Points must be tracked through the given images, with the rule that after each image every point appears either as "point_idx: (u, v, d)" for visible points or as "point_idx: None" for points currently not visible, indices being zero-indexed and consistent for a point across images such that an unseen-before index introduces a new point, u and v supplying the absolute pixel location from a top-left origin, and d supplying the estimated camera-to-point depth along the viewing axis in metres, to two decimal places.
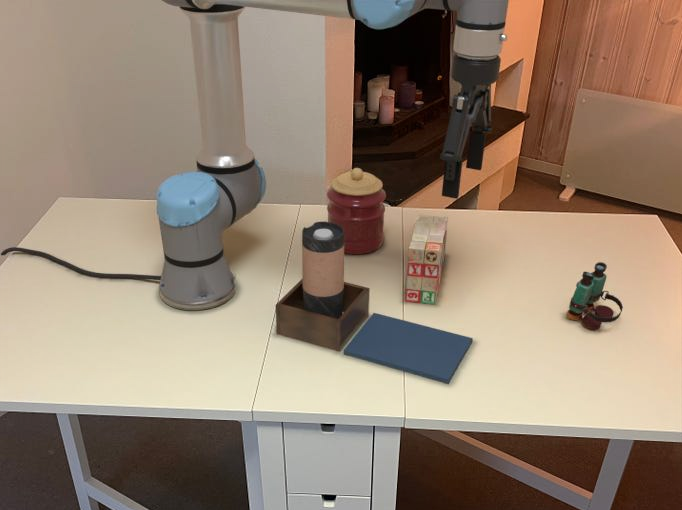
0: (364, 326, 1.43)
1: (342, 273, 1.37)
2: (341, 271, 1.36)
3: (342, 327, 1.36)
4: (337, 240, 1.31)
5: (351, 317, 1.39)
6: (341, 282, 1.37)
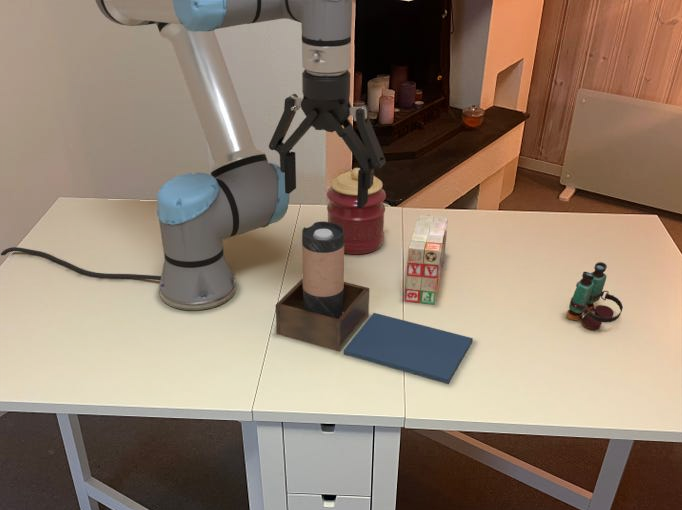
0: (364, 326, 1.43)
1: (342, 273, 1.37)
2: (341, 271, 1.36)
3: (342, 327, 1.36)
4: (337, 240, 1.31)
5: (351, 317, 1.39)
6: (341, 282, 1.37)
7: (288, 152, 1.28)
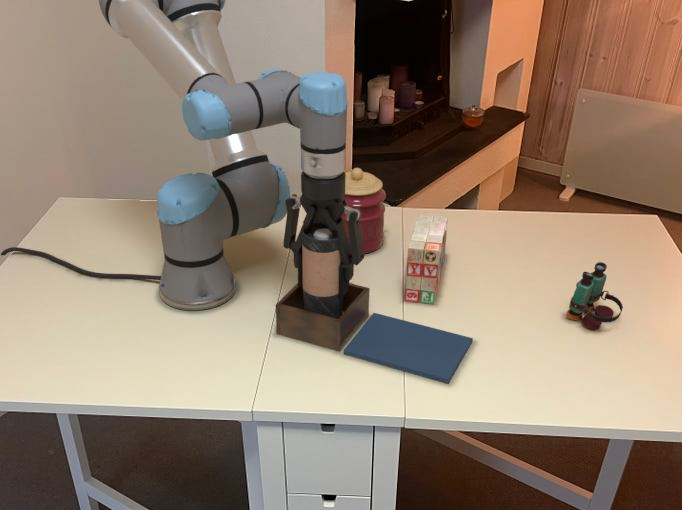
0: (364, 326, 1.43)
1: None
2: None
3: (342, 327, 1.36)
4: (337, 240, 1.31)
5: (351, 317, 1.39)
6: None
7: None
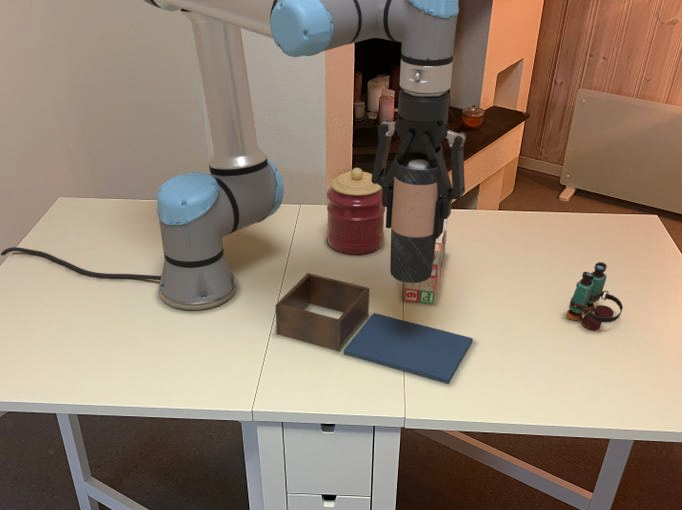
0: (364, 326, 1.43)
1: None
2: None
3: (342, 327, 1.36)
4: (436, 171, 1.16)
5: (351, 317, 1.39)
6: None
7: (391, 185, 1.23)
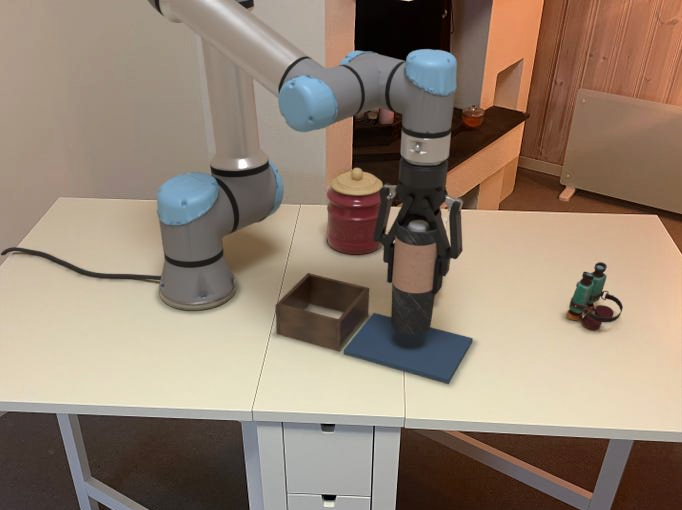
0: (364, 326, 1.43)
1: None
2: None
3: (342, 327, 1.36)
4: (435, 232, 1.22)
5: (351, 317, 1.39)
6: None
7: None
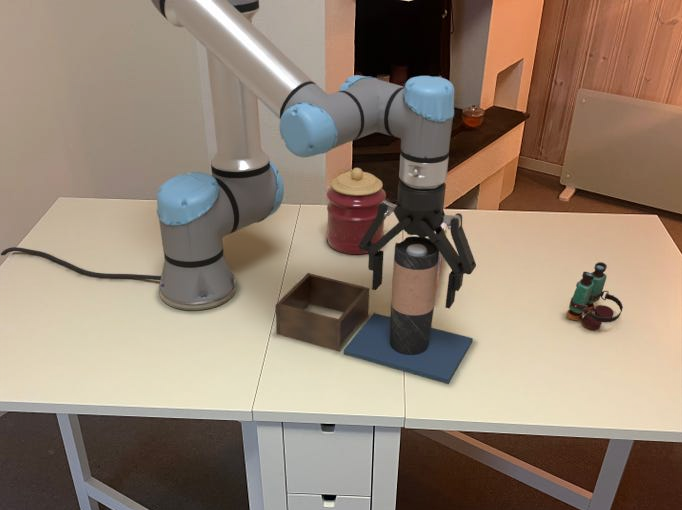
0: (364, 326, 1.43)
1: (434, 290, 1.30)
2: (434, 288, 1.29)
3: (342, 327, 1.36)
4: (433, 256, 1.25)
5: (351, 317, 1.39)
6: (433, 300, 1.31)
7: (377, 251, 1.31)
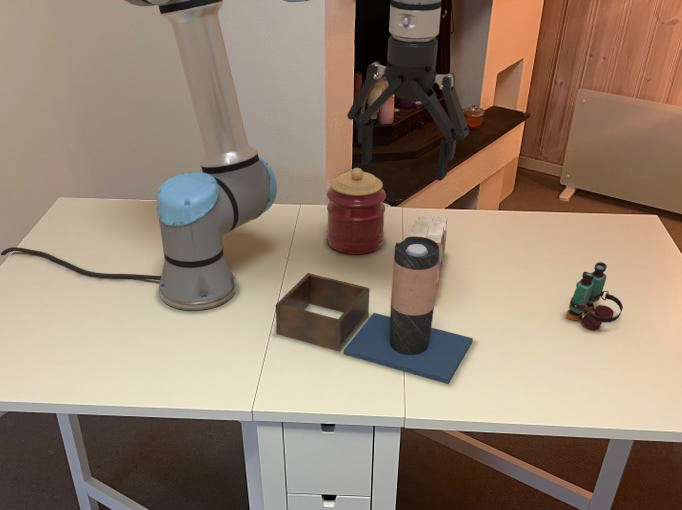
0: (364, 326, 1.43)
1: (434, 290, 1.30)
2: (434, 288, 1.29)
3: (342, 327, 1.36)
4: (433, 256, 1.25)
5: (351, 317, 1.39)
6: (433, 300, 1.31)
7: (366, 122, 1.25)
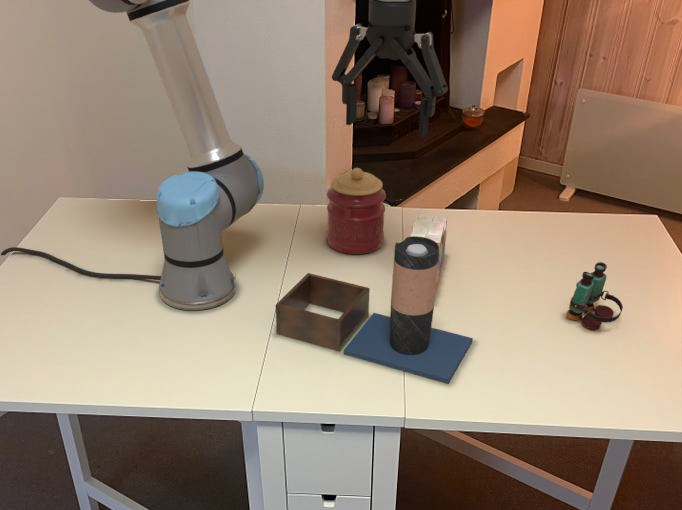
0: (364, 326, 1.43)
1: (434, 290, 1.30)
2: (434, 288, 1.29)
3: (342, 327, 1.36)
4: (433, 256, 1.25)
5: (351, 317, 1.39)
6: (433, 300, 1.31)
7: (350, 83, 1.31)
